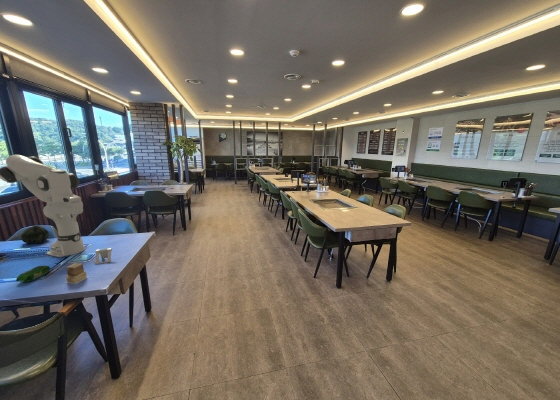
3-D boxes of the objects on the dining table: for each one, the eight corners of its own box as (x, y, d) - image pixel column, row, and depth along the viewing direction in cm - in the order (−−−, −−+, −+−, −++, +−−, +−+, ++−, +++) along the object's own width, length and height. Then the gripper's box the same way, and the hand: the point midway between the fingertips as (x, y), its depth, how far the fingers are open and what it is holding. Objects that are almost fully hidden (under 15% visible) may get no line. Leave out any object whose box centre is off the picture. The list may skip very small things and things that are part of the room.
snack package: (13, 285, 124) (11, 277, 123) (42, 270, 140) (40, 263, 138) (26, 285, 124) (24, 277, 123) (53, 271, 140) (52, 263, 139)
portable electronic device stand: (94, 265, 148) (92, 253, 146) (98, 260, 155) (97, 248, 153) (110, 263, 151) (108, 251, 149) (113, 258, 158) (112, 247, 156)
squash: (25, 233, 184) (19, 223, 174) (51, 231, 193) (47, 221, 183) (23, 249, 178) (17, 239, 168) (50, 245, 186) (45, 236, 177)
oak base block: (67, 282, 127) (66, 275, 126) (77, 276, 133) (76, 270, 132) (76, 283, 126) (75, 276, 126) (86, 277, 132) (85, 271, 131)
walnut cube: (67, 275, 127) (66, 267, 126) (76, 270, 131) (75, 263, 130) (75, 276, 126) (74, 267, 125) (84, 271, 131) (82, 263, 130)
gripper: (40, 198, 128) (45, 221, 131) (72, 199, 126) (76, 223, 129) (53, 196, 134) (57, 218, 137) (83, 197, 132) (87, 219, 135)
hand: (66, 220), depth 133 cm, fingers open, 8 cm apart
